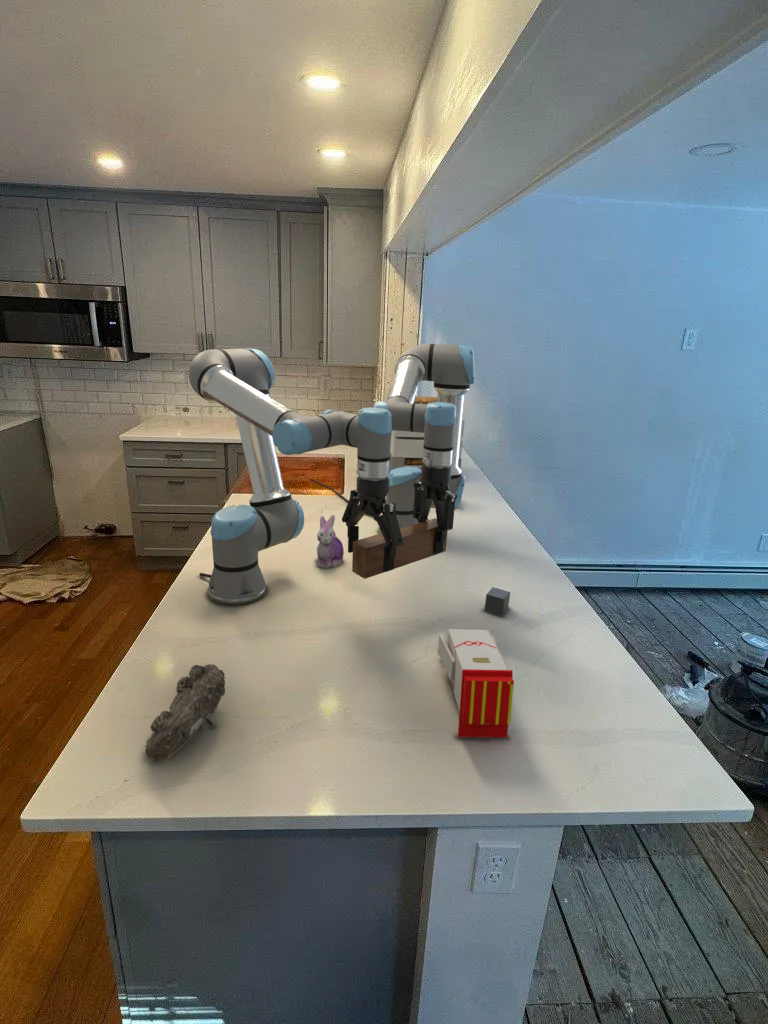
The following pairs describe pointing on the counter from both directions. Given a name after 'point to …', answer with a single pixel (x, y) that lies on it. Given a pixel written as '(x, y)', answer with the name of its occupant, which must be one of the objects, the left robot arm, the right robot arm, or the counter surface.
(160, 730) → the fossil
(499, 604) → the grey block
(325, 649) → the counter surface
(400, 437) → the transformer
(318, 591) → the counter surface
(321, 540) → the figurine
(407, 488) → the right robot arm
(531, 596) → the counter surface
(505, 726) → the toy
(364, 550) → the plank
